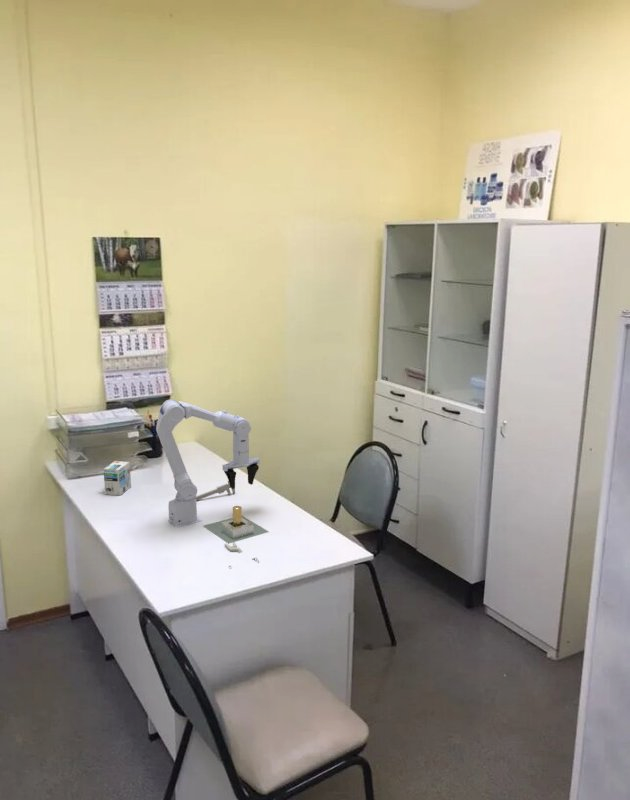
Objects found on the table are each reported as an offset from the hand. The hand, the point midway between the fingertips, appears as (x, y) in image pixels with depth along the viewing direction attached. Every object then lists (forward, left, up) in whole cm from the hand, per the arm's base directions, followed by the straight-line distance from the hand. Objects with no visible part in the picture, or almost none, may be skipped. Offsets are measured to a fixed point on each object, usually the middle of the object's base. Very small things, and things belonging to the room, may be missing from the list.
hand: (241, 485), depth 249 cm
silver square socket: (-11, -15, -10) cm, 21 cm away
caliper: (-2, +20, -11) cm, 23 cm away
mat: (-10, -12, -10) cm, 19 cm away
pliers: (-20, -30, -11) cm, 37 cm away
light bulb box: (-28, +49, -11) cm, 57 cm away
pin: (-11, -15, -10) cm, 21 cm away
